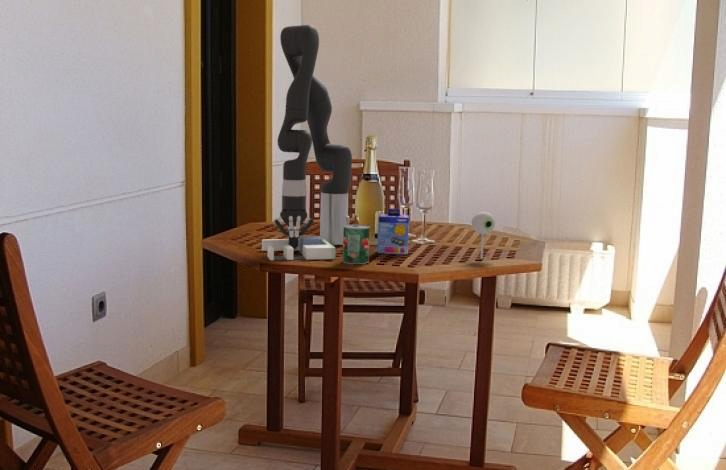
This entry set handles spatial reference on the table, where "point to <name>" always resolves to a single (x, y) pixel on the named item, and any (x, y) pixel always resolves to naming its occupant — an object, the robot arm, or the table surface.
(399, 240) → the ink cartridge box
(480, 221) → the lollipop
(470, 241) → the table surface
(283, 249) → the white open shelf
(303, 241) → the block
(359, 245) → the canned tomato
